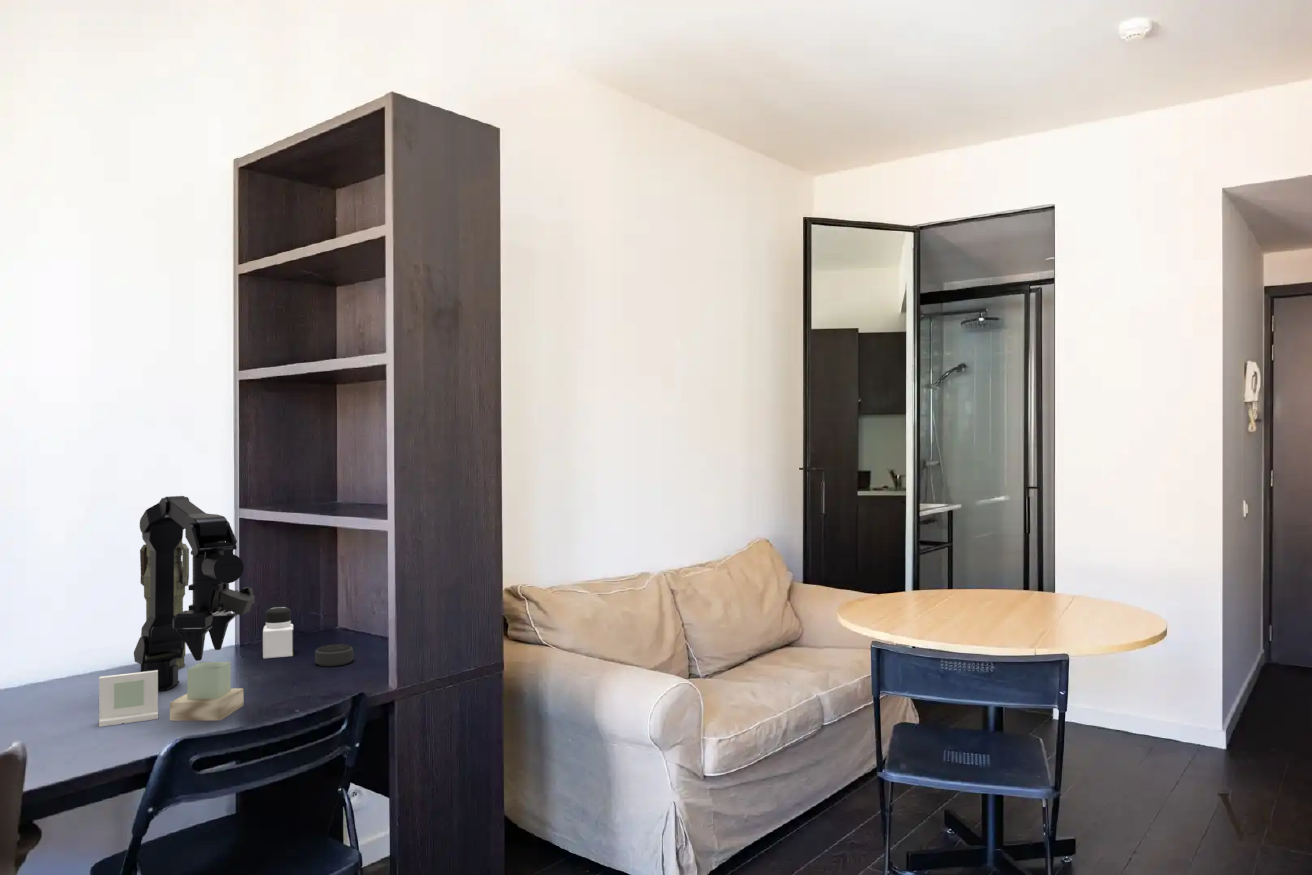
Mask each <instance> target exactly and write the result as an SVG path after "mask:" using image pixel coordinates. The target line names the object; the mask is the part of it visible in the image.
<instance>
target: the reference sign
mask: <svg viewBox="0 0 1312 875" xmlns="http://www.w3.org/2000/svg"><path fill="white" fill-rule="evenodd" d="M98 681H99V684H98V686H99V689H98V692H99V693H98V694H99V695H98V697H99V700H98V701H99V702H98V706H99V707H98V708H99V710H98V714H99V716H98V727H99V728H101V727H108V726H109V727H110V726H115V725H116V726H117V725H123V724H122V723H124V724H130V723H131V724H132V723H138V722H144V721H146V722H147V721H151V720H158V719H159V690H158V670H155V671H146V672H141V671H139V672H131V673H123V674H113V675H102V676H99V678H98Z"/></svg>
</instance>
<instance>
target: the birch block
mask: <svg viewBox="0 0 1312 875" xmlns="http://www.w3.org/2000/svg"><path fill="white" fill-rule="evenodd" d="M244 702H245V701H244V688H240V687H239V688H231V691H229V692H228V693H226V694H225V695H223V696H222V697H220V698H219V699H187V693H185V694H182V695H181V696H180V697H178V698H176V699H174V700H172V701H170V702H169V721H173V722H174V721H176V722H177V721H183V722H184V721H194V722H195V721H222V720H223V719H226V717H228V716H230V715H231V714H232V713H235V712H236V711H237V710H239V709H241V708H242V707H244Z"/></svg>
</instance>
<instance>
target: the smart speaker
mask: <svg viewBox="0 0 1312 875" xmlns="http://www.w3.org/2000/svg"><path fill="white" fill-rule="evenodd" d="M314 651H315V653H314V660H315V664H316V665H318V666H321V667H340V666H344V665H347V664H350V663H351V662H352V661H353V660H354V649H353V647H352V645H350V644H347V643H346V644H344V643H334V644H326V645H322V646H320V647H317V648H316V649H315V650H314Z"/></svg>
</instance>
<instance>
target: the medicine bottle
mask: <svg viewBox="0 0 1312 875" xmlns="http://www.w3.org/2000/svg"><path fill="white" fill-rule="evenodd" d="M293 656H294V624H293V623H292V609H290V608H288V607H286V606H285V607H284V606H283V607H282V606H281V607H280V606H278V607H272V608H269V609H267V610H266V611H265V625H264V626H263V629H262V658H263V659H273V658H274V659H275V658H286V657H293Z"/></svg>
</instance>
